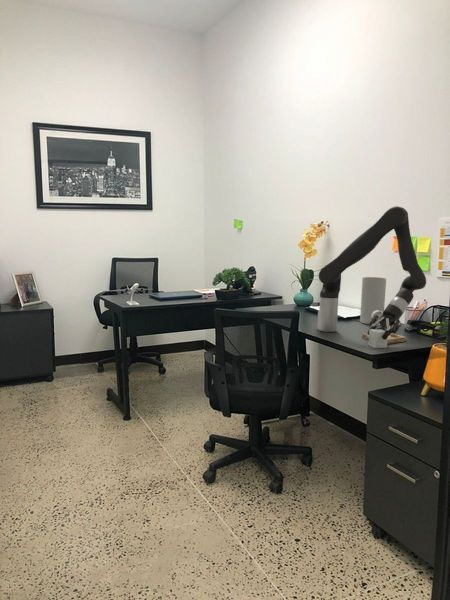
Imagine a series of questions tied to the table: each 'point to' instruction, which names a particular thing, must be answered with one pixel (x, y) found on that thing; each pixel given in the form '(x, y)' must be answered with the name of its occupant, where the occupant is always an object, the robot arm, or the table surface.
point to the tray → (389, 338)
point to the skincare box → (377, 338)
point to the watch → (379, 315)
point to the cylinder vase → (372, 297)
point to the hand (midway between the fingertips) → (376, 336)
